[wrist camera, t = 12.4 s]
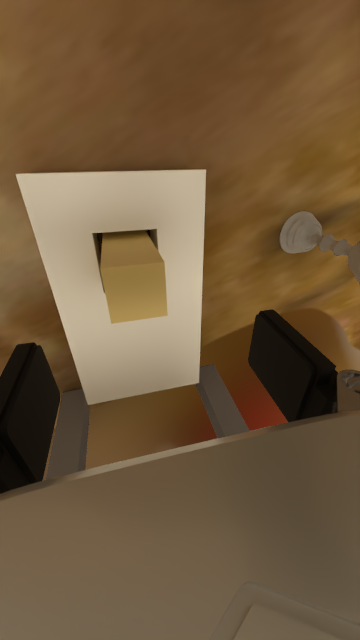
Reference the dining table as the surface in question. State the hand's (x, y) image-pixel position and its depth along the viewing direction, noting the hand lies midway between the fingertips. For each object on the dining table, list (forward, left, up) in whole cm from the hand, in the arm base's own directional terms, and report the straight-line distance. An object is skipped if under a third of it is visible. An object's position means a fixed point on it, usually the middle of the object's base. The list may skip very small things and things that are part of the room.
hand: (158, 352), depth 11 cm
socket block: (+5, 0, -19) cm, 19 cm away
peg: (0, 0, -19) cm, 19 cm away
